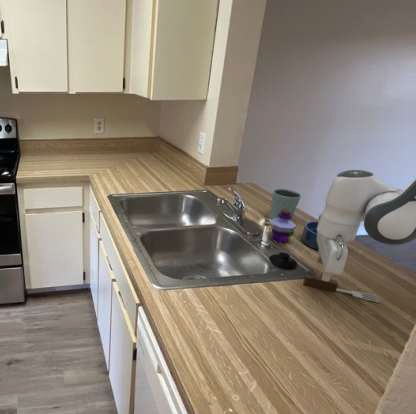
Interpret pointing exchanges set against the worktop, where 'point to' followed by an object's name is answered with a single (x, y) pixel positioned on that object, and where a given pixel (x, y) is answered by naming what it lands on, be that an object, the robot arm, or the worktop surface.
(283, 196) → the grey-green tapered cup
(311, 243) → the bowl
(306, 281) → the fork
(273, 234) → the potion bottle
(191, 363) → the worktop surface
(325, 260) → the robot arm
